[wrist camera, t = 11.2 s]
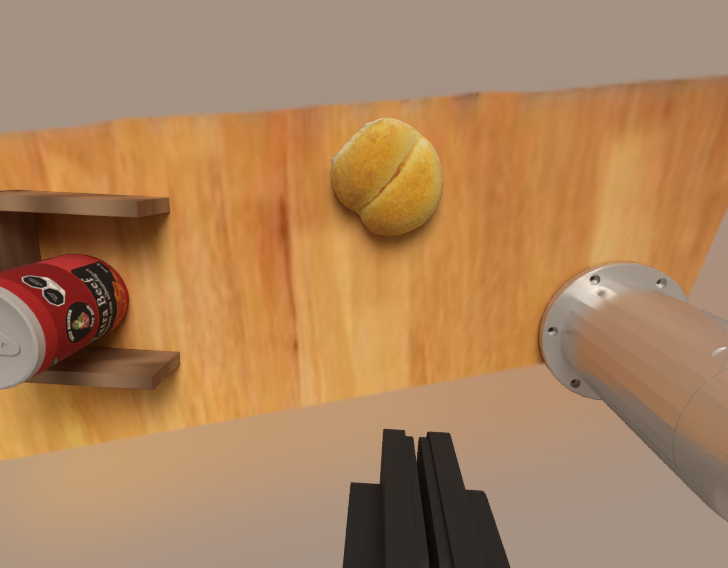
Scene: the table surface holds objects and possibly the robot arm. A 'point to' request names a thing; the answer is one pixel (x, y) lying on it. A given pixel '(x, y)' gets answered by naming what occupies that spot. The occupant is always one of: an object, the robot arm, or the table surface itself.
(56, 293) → the canned food
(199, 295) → the table surface
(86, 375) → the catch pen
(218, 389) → the table surface
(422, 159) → the bread roll
